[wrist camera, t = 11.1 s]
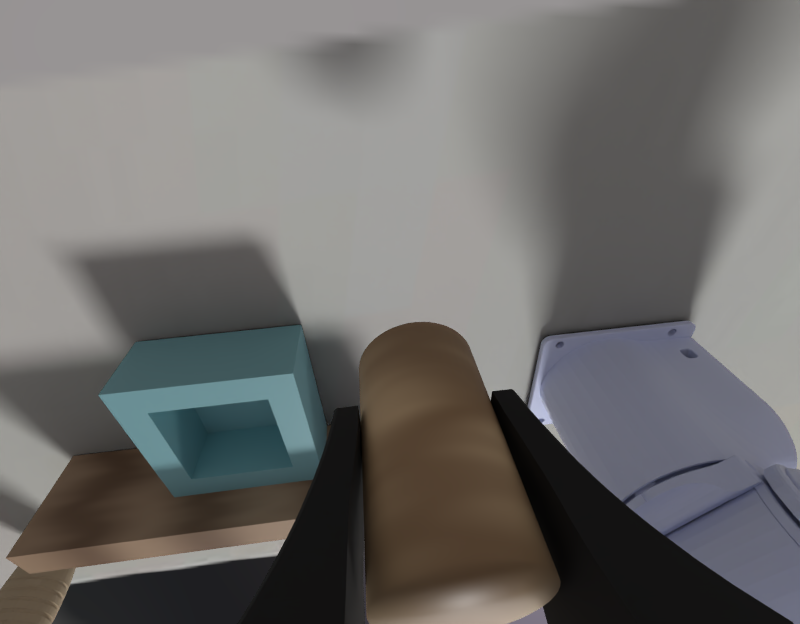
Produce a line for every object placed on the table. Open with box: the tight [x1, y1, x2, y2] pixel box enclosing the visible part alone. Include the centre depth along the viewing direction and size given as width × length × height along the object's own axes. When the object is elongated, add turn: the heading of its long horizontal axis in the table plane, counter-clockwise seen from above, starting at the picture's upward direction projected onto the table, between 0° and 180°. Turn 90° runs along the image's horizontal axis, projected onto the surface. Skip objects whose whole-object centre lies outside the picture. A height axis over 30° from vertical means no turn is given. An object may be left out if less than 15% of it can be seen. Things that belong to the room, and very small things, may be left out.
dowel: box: [359, 322, 561, 624], centre depth 11 cm, size 4×4×7 cm
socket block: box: [98, 325, 327, 497], centre depth 21 cm, size 9×9×4 cm
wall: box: [6, 422, 361, 574], centre depth 23 cm, size 20×2×6 cm, turn 92°
